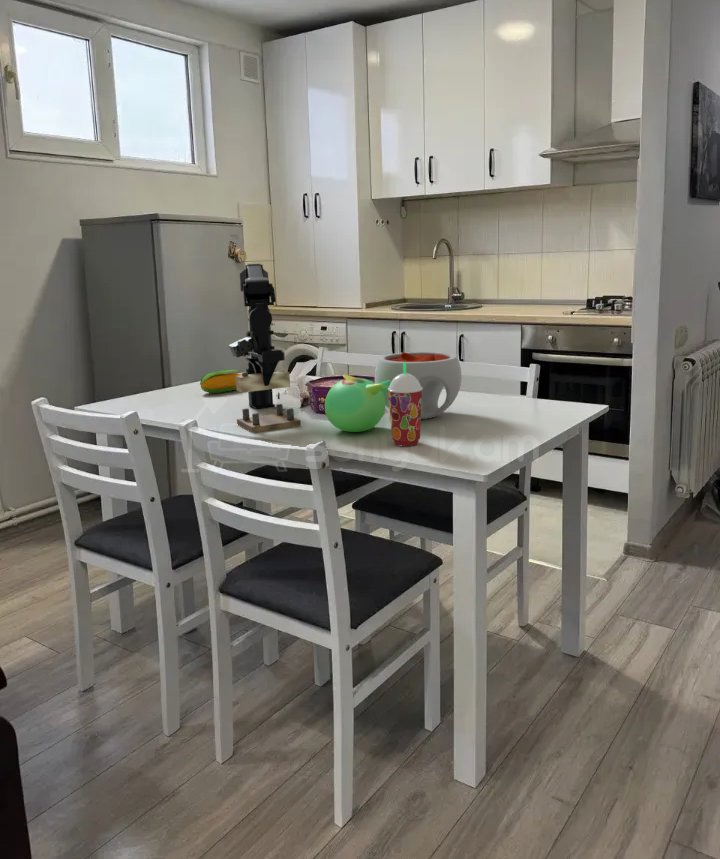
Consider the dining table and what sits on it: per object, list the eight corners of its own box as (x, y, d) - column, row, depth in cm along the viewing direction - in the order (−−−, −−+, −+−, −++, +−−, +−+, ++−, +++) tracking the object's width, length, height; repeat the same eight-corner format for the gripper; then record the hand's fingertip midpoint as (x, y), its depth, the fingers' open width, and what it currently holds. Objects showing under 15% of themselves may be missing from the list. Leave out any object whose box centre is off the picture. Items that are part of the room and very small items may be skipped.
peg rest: (283, 417, 219) (282, 402, 218) (300, 425, 208) (299, 409, 207) (237, 424, 212) (236, 408, 211) (252, 432, 202) (251, 416, 201)
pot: (400, 405, 231) (399, 346, 227) (474, 411, 219) (475, 349, 215) (360, 421, 211) (357, 357, 207) (439, 429, 199) (438, 361, 195)
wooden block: (284, 385, 213) (283, 367, 212) (290, 386, 210) (289, 368, 208) (236, 390, 207) (235, 372, 206) (241, 392, 203) (240, 374, 202)
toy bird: (333, 422, 211) (331, 370, 207) (394, 423, 208) (392, 369, 204) (319, 438, 193) (316, 381, 190) (385, 439, 191) (384, 381, 187)
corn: (194, 371, 259) (245, 364, 271) (195, 393, 261) (246, 385, 273) (205, 375, 253) (256, 368, 265) (206, 397, 255) (257, 389, 268)
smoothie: (421, 438, 190) (420, 358, 185) (425, 447, 182) (424, 364, 177) (387, 440, 190) (385, 360, 185) (390, 448, 181) (388, 365, 177)
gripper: (220, 327, 209) (224, 383, 212) (242, 331, 193) (246, 392, 196) (258, 324, 214) (262, 379, 217) (283, 328, 198) (287, 388, 201)
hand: (263, 384), depth 208 cm, fingers closed on wooden block, 4 cm apart
